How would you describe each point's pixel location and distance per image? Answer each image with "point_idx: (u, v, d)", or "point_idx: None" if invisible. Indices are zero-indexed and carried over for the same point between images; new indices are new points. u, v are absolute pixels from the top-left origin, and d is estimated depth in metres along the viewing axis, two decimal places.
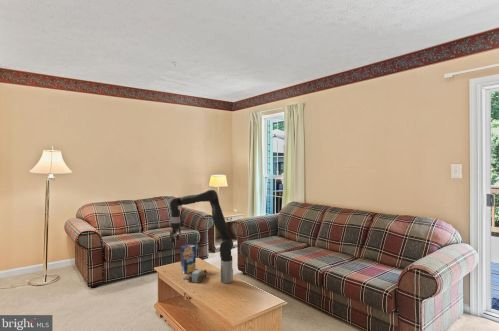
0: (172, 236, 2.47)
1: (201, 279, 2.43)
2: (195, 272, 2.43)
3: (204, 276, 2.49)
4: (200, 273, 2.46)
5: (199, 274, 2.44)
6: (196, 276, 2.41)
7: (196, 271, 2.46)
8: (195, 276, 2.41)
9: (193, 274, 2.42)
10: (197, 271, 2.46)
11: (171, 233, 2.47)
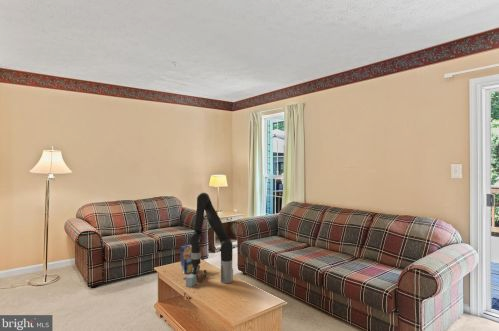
0: (195, 273, 2.40)
1: (201, 279, 2.43)
2: (189, 276, 2.34)
3: (204, 276, 2.49)
4: (195, 277, 2.37)
5: (193, 278, 2.35)
6: (190, 280, 2.32)
7: (190, 275, 2.37)
8: (189, 280, 2.32)
9: (187, 278, 2.33)
10: (192, 275, 2.37)
11: (192, 272, 2.39)
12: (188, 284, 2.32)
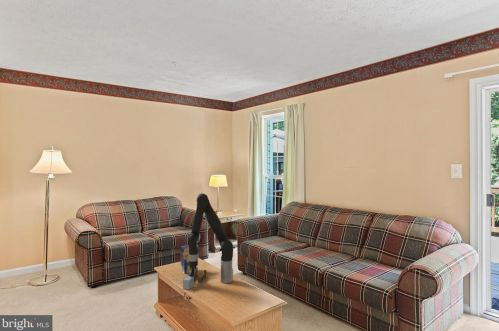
0: (192, 275, 2.35)
1: (201, 279, 2.43)
2: (186, 278, 2.29)
3: (204, 276, 2.49)
4: (192, 279, 2.32)
5: (191, 280, 2.30)
6: (187, 283, 2.27)
7: (188, 277, 2.32)
8: (186, 283, 2.27)
9: (184, 280, 2.28)
10: (189, 277, 2.32)
11: (190, 274, 2.34)
12: (185, 287, 2.27)
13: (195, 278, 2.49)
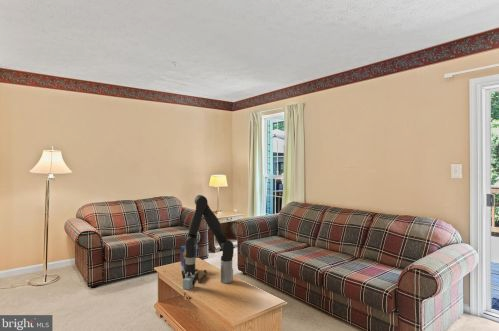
0: None
1: (201, 279, 2.43)
2: (187, 278, 2.29)
3: (204, 276, 2.49)
4: (192, 279, 2.32)
5: (191, 281, 2.30)
6: (187, 283, 2.27)
7: (188, 277, 2.32)
8: (186, 283, 2.27)
9: (184, 280, 2.27)
10: (189, 277, 2.32)
11: None
12: (185, 287, 2.27)
13: None
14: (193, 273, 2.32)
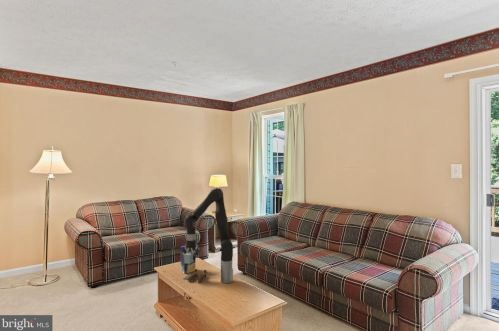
0: (184, 252, 2.51)
1: (201, 279, 2.43)
2: (187, 254, 2.46)
3: (204, 276, 2.49)
4: None
5: (192, 256, 2.47)
6: (188, 257, 2.44)
7: (189, 253, 2.49)
8: (187, 257, 2.44)
9: (185, 255, 2.45)
10: (190, 253, 2.49)
11: None
12: (186, 261, 2.44)
13: (195, 278, 2.49)
14: (193, 249, 2.49)
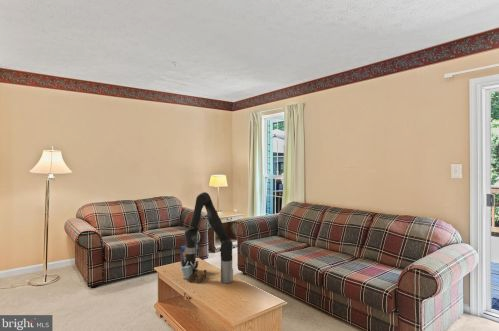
0: (183, 265, 2.51)
1: (201, 279, 2.43)
2: (186, 266, 2.46)
3: (204, 276, 2.49)
4: (191, 267, 2.49)
5: (190, 268, 2.47)
6: (187, 270, 2.44)
7: (187, 265, 2.49)
8: (186, 270, 2.44)
9: (184, 268, 2.45)
10: (188, 265, 2.49)
11: None
12: (186, 274, 2.44)
13: (195, 278, 2.49)
14: (193, 262, 2.49)
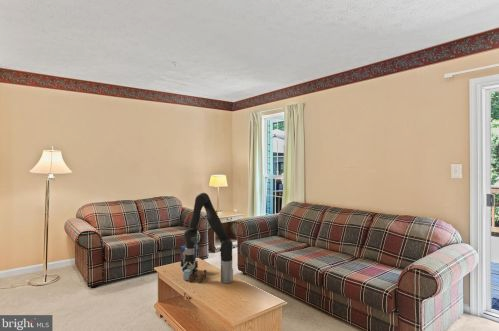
0: None
1: (201, 279, 2.43)
2: (187, 270, 2.46)
3: (204, 276, 2.49)
4: (192, 271, 2.49)
5: (191, 272, 2.47)
6: (188, 274, 2.44)
7: (188, 269, 2.49)
8: (187, 274, 2.44)
9: (185, 271, 2.45)
10: (189, 269, 2.49)
11: None
12: (186, 277, 2.44)
13: (195, 278, 2.49)
14: (192, 262, 2.49)
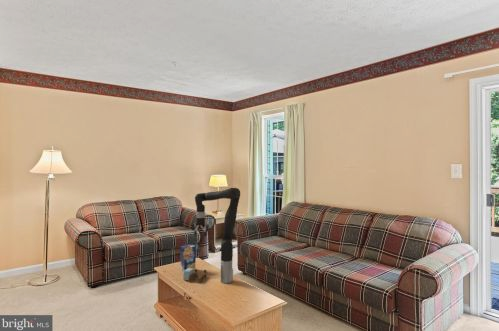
0: (192, 229, 2.58)
1: (201, 279, 2.43)
2: (187, 270, 2.46)
3: (204, 276, 2.49)
4: (192, 271, 2.49)
5: (191, 272, 2.47)
6: (188, 274, 2.44)
7: (188, 269, 2.49)
8: (187, 274, 2.44)
9: (185, 271, 2.45)
10: (189, 269, 2.49)
11: None
12: (186, 277, 2.44)
13: (195, 278, 2.49)
14: (203, 225, 2.56)
